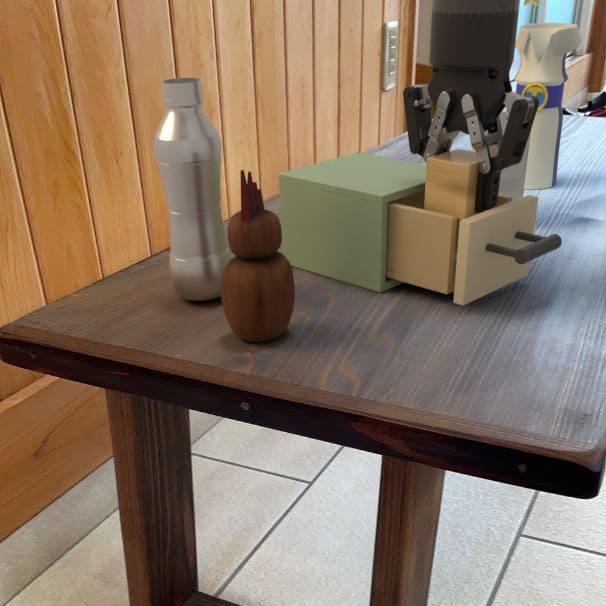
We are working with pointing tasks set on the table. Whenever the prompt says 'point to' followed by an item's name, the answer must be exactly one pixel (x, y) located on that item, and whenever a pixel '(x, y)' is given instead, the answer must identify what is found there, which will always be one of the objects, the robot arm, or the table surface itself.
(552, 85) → the spray bottle
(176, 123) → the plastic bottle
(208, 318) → the table surface
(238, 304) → the wooden figurine
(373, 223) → the cabinet
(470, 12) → the robot arm
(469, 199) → the block
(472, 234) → the drawer
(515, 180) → the small box
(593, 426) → the table surface
